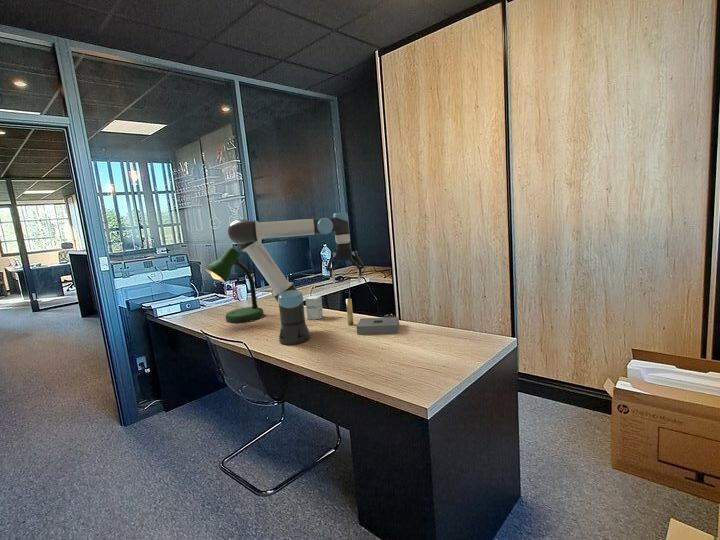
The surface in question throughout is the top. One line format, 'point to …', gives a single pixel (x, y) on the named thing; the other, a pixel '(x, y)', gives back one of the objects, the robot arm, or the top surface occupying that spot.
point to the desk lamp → (222, 272)
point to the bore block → (378, 325)
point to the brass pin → (349, 311)
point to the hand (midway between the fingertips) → (346, 282)
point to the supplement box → (314, 307)
